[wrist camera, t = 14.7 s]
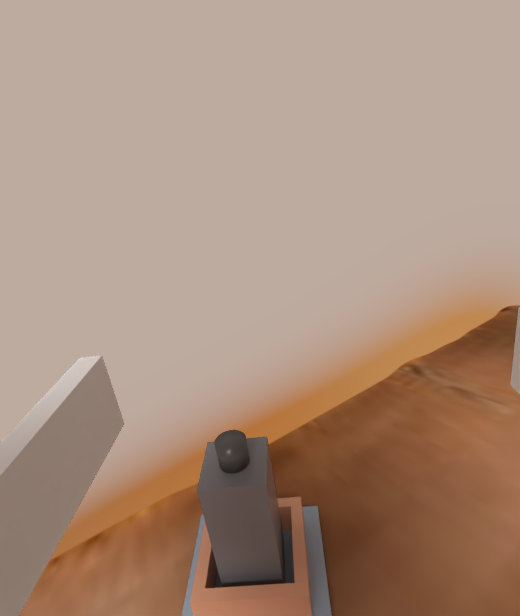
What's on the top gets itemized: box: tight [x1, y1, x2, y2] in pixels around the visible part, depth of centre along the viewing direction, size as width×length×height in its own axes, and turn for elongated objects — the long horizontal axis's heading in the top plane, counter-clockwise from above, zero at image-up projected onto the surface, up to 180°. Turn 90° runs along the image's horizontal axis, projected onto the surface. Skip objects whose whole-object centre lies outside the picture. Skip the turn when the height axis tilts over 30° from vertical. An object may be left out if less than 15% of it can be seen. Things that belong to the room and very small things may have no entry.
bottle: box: [197, 430, 285, 587], centre depth 32 cm, size 5×5×14 cm
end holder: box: [182, 497, 332, 616], centre depth 34 cm, size 12×12×4 cm
